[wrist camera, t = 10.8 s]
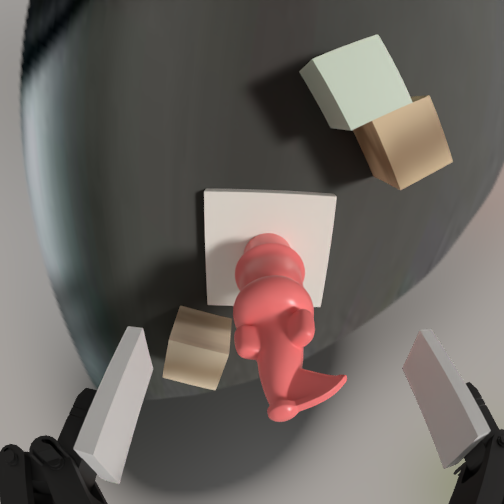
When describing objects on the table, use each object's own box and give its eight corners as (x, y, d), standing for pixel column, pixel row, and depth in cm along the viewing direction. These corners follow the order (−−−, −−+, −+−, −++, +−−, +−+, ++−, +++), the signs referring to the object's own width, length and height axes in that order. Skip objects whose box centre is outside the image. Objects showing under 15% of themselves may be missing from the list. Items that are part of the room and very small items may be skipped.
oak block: (347, 120, 21) (372, 120, 16) (397, 97, 20) (429, 95, 15) (373, 176, 22) (400, 190, 18) (419, 152, 21) (452, 161, 17)
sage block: (298, 72, 19) (312, 58, 15) (353, 49, 18) (378, 34, 14) (330, 128, 21) (351, 130, 16) (382, 104, 20) (412, 102, 15)
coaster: (205, 188, 23) (204, 191, 22) (333, 193, 23) (336, 196, 22) (208, 298, 27) (207, 304, 26) (318, 300, 27) (320, 307, 26)
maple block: (180, 304, 27) (168, 339, 23) (231, 318, 28) (228, 354, 23) (172, 342, 29) (162, 377, 25) (219, 354, 30) (215, 390, 25)
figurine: (290, 215, 23) (346, 354, 9) (307, 272, 25) (357, 427, 11) (227, 235, 23) (200, 389, 10) (248, 289, 25) (248, 452, 12)
